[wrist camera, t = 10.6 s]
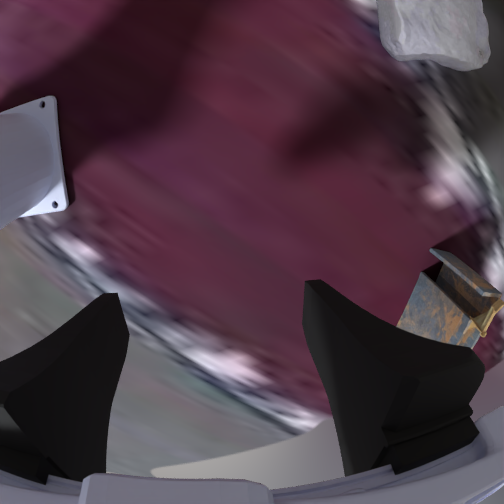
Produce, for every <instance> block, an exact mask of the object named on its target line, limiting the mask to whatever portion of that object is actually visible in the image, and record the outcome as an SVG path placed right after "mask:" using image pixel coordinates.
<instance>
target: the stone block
mask: <svg viewBox="0 0 504 504" xmlns="http://www.w3.org/2000/svg"><path fill="white" fill-rule="evenodd" d="M376 1H377V7H378V20H379V31H380V39H381V42H382V45H383V47H384V48H385V49H386V50H387V52H388V53H389V54H390V55H391V57H393V58H394V59H396V60H398V61H409V60H425V59H429V60H432V61H434V62H437V63H439V64H440V65H442V66H445V67H449V68H452V69H454V70H458V71H470V70H474V69H478V68H481V67H482V66H483V65H484V64H486V63H487V62H488V59H489V57H490V54H491V53H490V47H489V43H488V35H489V29H488V23H487V20H486V17H485V15H484V14H483V7H482V5H483V4H482V0H376Z"/></svg>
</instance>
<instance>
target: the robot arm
mask: <svg viewBox="0 0 504 504" xmlns="http://www.w3.org/2000/svg"><path fill="white" fill-rule="evenodd" d="M43 102H45V107H44V108H43V107H42V103H43ZM55 201H56V202H57V203H58V207H56V206H55V204H54V202H55ZM68 205H69V200H68V195H67V189H66V183H65V177H64V170H63V163H62V155H61V147H60V138H59V128H58V115H57V101H56V98H55V97H54V96H46V97H43V98H40V99H37V100H34V101H31V102H28V103H25V104H22V105H19V106H17V107H14V108H11V109H9V110H6V111H3V112H1V113H0V230H1V229H2V228H3V227H5V226H6V225H8V224H9V223H11V222H12V221H14V220H15V219H17V218H19V217H25V216H31V215H37V214H44V213H50V212H57V211H63V210H65V209H66V208H67V207H68ZM302 325H303V329H304V333H305V338H306V341H307V345H308V348H309V350H310V353H311V355H312V358H313V360H314V363H315V365H316V368H317V370H318V373H319V375H320V378H321V380H322V383H323V385H324V387H325V390H326V393H327V396H328V399H329V403H330V407H331V411H332V415H333V419H334V422H335V427H336V432H337V436H338V441H339V446H340V450H341V456H342V461H343V467H344V473H345V477H342V478H337V479H333V480H329V481H323V482H318V483H313V484H308V485H302V486H296V487H288V488H282V489H273V490H269V489H268V488H267V487H266V486H265V485H263V484H261V483H256V482H252V481H248V480H243V479H171V478H170V479H169V478H153V477H140V476H129V475H121V474H113V473H106V450H107V437H108V427H109V419H110V412H111V406H112V402H113V398H114V395H115V391H116V388H117V384H118V381H119V378H120V374H121V371H122V368H123V365H124V361H125V358H126V354H127V348H128V341H129V335H130V334H129V331H128V328H127V324H126V321H125V318H124V314H123V311H122V307H121V304H120V300H119V297H118V293H104V294H102V295H100V296H99V297H98V298H96V299H95V300H94V301H92V302H91V303H90V304H89V305H87V306H86V307H85V308H84V309H82V310H81V311H80V312H79V313H77V314H76V315H75V316H74V317H73V318H71V319H70V320H69V321H67V322H66V323H65V324H63V325H62V326H61V327H60V328H58V329H57V330H56V331H54V332H53V333H52V334H50V335H49V336H47V337H46V338H44V339H43V340H41V341H40V342H38V343H36V344H35V345H33V346H31V347H30V348H28V349H26V350H24V351H22V352H20V353H18V354H16V355H14V356H12V357H10V358H8V359H6V360H3V361H1V362H0V504H477V503H478V502H480V501H482V500H483V499H485V498H486V497H488V496H490V495H491V494H493V493H494V492H496V491H497V490H498V489H499V488H501V487H502V486H503V485H504V407H503V406H501V407H499V408H497V409H495V410H493V411H491V412H490V413H488V414H486V415H484V416H482V417H480V418H479V419H478V420H477V421H475V422H473V421H472V419H471V418H470V416H471V415H472V414H473V410H472V408H471V407H470V406H469V402H470V401H471V400H472V398H473V396H474V395H475V393H476V391H477V390H478V388H479V386H480V384H481V382H482V380H483V378H484V373H485V366H484V364H483V362H482V361H481V360H480V359H479V357H478V356H477V355H476V354H475V353H474V351H473V350H472V349H471V348H470V347H465V346H460V345H454V344H448V343H443V342H439V341H436V340H432V339H428V338H425V337H422V336H419V335H416V334H413V333H411V332H408V331H405V330H403V329H400V328H398V327H396V326H394V325H391V324H389V323H387V322H385V321H383V320H381V319H379V318H378V317H376V316H374V315H372V314H371V313H369V312H367V311H366V310H364V309H362V308H361V307H359V306H358V305H356V304H355V303H353V302H352V301H350V300H349V299H347V298H346V297H345V296H343V295H342V294H340V293H339V292H338V291H336V290H335V289H334V288H332V287H331V286H329V285H328V284H327V283H325V282H324V281H322V280H321V279H320V280H308V281H305V289H304V305H303V320H302Z"/></svg>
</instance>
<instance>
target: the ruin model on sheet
mask: <svg viewBox="0 0 504 504" xmlns="http://www.w3.org/2000/svg"><path fill="white" fill-rule="evenodd" d="M429 251H430V252H431V253H432V254H433V255H435V256H436V257H437V258H438V259H440V260H441V261H442V262H443V266H442V268H441V270H440V273H439V275H438V277H437V280H436V282H434V281H433V280H432V279H431V278H430V277H428V276H427V275H426V274H425V273H424V272H421V273H420V276H419V279H418V281H417V283H416V286H415V288H414V290H413V292H412V295H411V297H410V299H409V301H408V303H407V305H406V308H405V310H404V312H403V314H402V316H401V318H400V320H399V322H398V324H397V326H396V327H398V328H400V329H403V330H405V331H408V332H411V333H413V334H416V335H419V336H422V337H425V338H428V339H432V340H436V341H439V342H443V343H448V344H454V345H460V346H465V347H470V348H471V349H473V347H474V345H475V344H476V342H477V340H478V339H479V337H480V335H481V336H482V337H485V335H486V334H487V333H486V330H487V328H488V326H489V324H490V323H491V321H492V319H493V317H494V315H495V314H496V313H497V312H498V311H499V310H500V309H501V308H502V307H503V306H504V302H503V301H502V300H501V299H500V298H501V296H502V294H501V293H500V292H499V291H498V290H497V289H496V288H494V287H493V286H492V285H491V284H490V283H488V282H487V281H486V280H485V279H484V278H482V277H481V276H480V275H479V274H477V273H476V272H475V271H474V270H472V269H471V268H470V267H469V266H467V265H466V264H465V263H464V262H462V261H461V260H460V259H458V258H457V257H456V256H455V255H453V254H452V253H451V252H447V251H442V250H438V249H433V248H430V250H429Z"/></svg>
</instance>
